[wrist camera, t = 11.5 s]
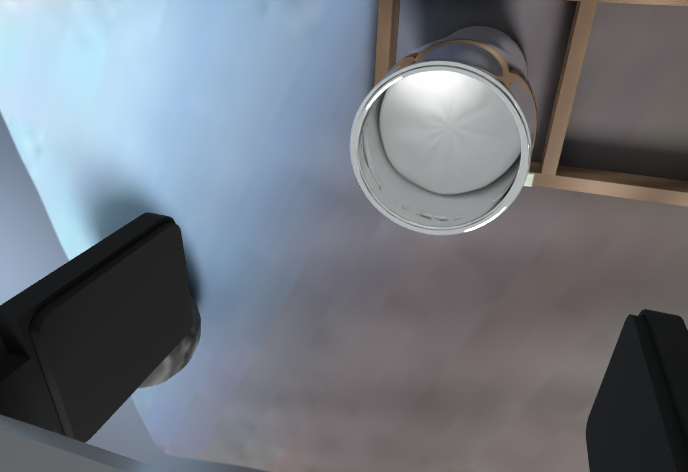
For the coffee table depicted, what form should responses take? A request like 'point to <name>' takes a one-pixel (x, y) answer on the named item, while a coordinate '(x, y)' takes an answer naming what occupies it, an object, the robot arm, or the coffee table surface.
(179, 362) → the decorative stone
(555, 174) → the coaster frame
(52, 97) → the coffee table surface
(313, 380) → the coffee table surface
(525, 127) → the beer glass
